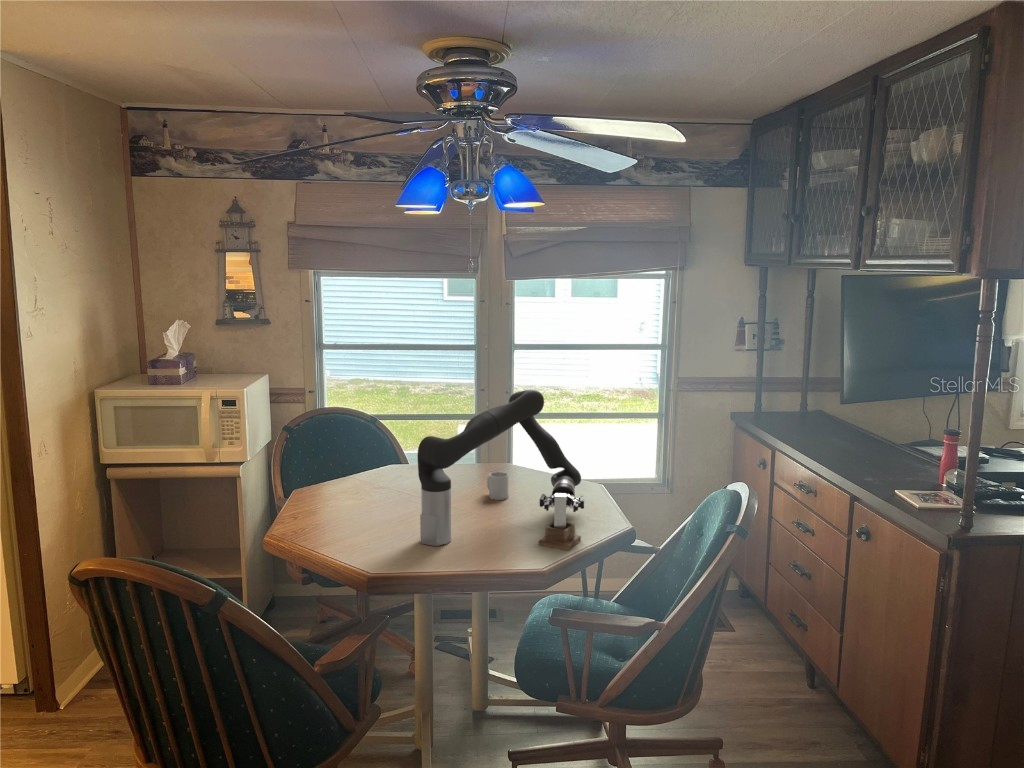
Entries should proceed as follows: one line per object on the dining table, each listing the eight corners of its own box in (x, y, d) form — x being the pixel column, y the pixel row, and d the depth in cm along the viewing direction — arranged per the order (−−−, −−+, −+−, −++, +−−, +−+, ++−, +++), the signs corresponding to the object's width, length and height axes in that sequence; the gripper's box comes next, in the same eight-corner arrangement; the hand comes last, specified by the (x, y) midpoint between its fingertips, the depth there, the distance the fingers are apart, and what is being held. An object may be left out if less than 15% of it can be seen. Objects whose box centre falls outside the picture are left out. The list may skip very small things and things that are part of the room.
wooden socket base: (568, 550, 229) (568, 533, 228) (538, 544, 234) (539, 528, 233) (580, 540, 238) (580, 523, 237) (551, 534, 243) (551, 518, 242)
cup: (497, 501, 277) (498, 478, 275) (480, 495, 284) (480, 472, 283) (512, 497, 282) (512, 474, 280) (494, 491, 289) (495, 469, 287)
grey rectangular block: (565, 540, 234) (566, 496, 232) (553, 539, 234) (554, 496, 232) (565, 536, 237) (566, 493, 235) (554, 535, 238) (555, 493, 236)
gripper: (542, 481, 250) (538, 495, 235) (585, 483, 249) (584, 497, 233) (542, 503, 252) (538, 518, 236) (584, 504, 250) (583, 521, 234)
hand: (560, 508), depth 234 cm, fingers open, 8 cm apart
